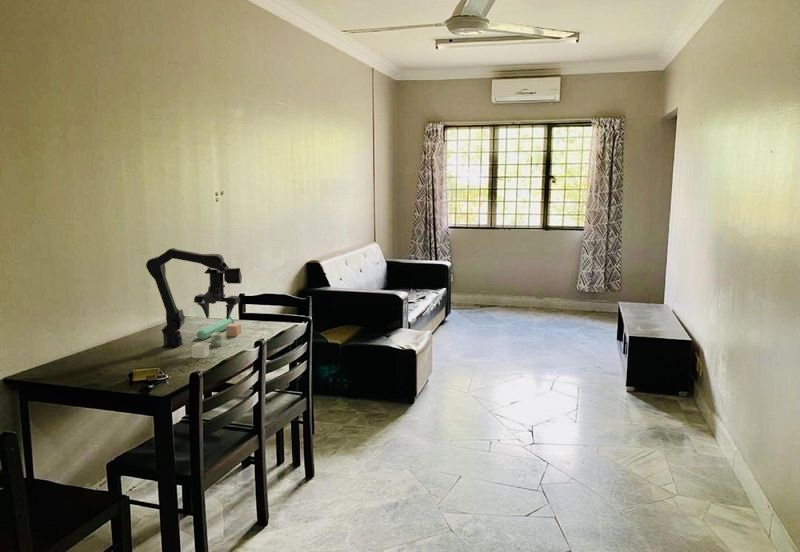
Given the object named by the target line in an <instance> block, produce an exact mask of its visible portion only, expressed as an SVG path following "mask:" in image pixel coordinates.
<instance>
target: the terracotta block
mask: <svg viewBox="0 0 800 552" xmlns="http://www.w3.org/2000/svg"><path fill="white" fill-rule="evenodd" d="M225 333H226V337H229V336H237V337H239V336H240V335H242V325H241V323H234V324H233V323H230V324H229V325H227V326H226V329H225ZM239 334H240V335H239ZM238 335H239V336H238Z"/></svg>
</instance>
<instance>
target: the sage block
mask: <svg viewBox="0 0 800 552" xmlns="http://www.w3.org/2000/svg"><path fill="white" fill-rule="evenodd" d="M210 336H211V337H210V347H223V346H225V345H227V344H228V343H227V342H228V341H227V340H228V339H227V336H226V332H223V331H221V332H215V333H213V334H211V335H210ZM224 344H225V345H224Z"/></svg>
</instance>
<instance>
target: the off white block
mask: <svg viewBox="0 0 800 552" xmlns="http://www.w3.org/2000/svg"><path fill="white" fill-rule="evenodd" d="M191 354H192V358H194V359H205V358H206V357H208V356H209V355H210V343H209V342H196V343H194V344H193V345H191Z"/></svg>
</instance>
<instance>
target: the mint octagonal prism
mask: <svg viewBox="0 0 800 552" xmlns="http://www.w3.org/2000/svg"><path fill="white" fill-rule="evenodd" d="M230 323H233V324H235V319H234V318H233V317H232V316H230V317H229V319H227V316H225V318H223V319H220V320H218V321H216V322H214V323H211V324H209V325H206V327H205V326H204V327H203V328H200V329H199V330H198V331H197V333H196V337H197V338H198V339H199V340H201V339H202V340H203V339H204V340H206V339H208V337H209V338H211V337H210V335H211V334H213V333H215V332H223V331H226V326H227V325H229V324H230Z"/></svg>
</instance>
